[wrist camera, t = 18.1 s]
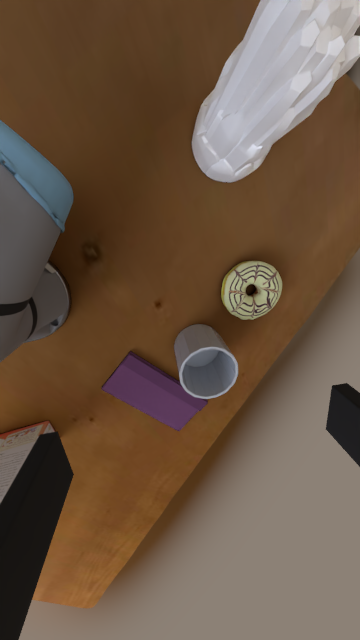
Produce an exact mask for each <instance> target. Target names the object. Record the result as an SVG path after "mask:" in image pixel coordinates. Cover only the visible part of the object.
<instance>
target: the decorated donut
mask: <svg viewBox="0 0 360 640" xmlns="http://www.w3.org/2000/svg"><path fill="white" fill-rule="evenodd" d="M250 284H254V285H255V286H256V290H255V292H254V294H252V295H249V296H248V295H247V294H246V287H247V286H248V285H250ZM281 291H282V280H281V277H280V275H279V273H278V271H277V270H276V269H275V268H274V267H273V266H271V265H269V264H267V263H264V262H261V261H245V262H242V263H240V264H238V265H236V266H235V267H234V268H233V269H231V270H230V271H229V272H228V273H227V275H226V276H225V278H224V280H223V284H222V289H221V292H222V293H221V294H222V295H221V297H222V301H223V304H224V305H225V306H226V308H227V310H228V311H229V312H230V313H231V314H233V315H235V316H236V317H238V318H240V319H242V320H247V319H251V320H253V319H255V318H257V317H260V316H262V315H264V314H266V313H267V312H269V311H270V310H271V309H272V308H273V307H274V306H275V304H276V303H277V301H278V299H279V297H280V295H281Z"/></svg>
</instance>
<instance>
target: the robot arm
mask: <svg viewBox="0 0 360 640" xmlns="http://www.w3.org/2000/svg"><path fill="white" fill-rule="evenodd" d="M73 198H74V197H73V191H72V187H71V185H70V184H69V182H68V181H67V179H66V178H65V177H64V175H63V174H62V173H61V172H60V171H59V170H58V169H57V168H56V167H55V166H53V165H52V164H51V163H50V162H49V161H48V160H47V159H46V158H45V157H44V156H42V155H41V154H40V153H39V152H38V151H37V150H36V149H34V148H33V147H32V146H31V145H30V144H29V143H27V142H26V141H25V140H24V139H23V138H22V137H20V136H19V135H18V134H17V133H16V132H14V131H13V130H12V129H11V128H10V127H8V126H7V125H6V124H5V123H3V122H2V121H1V120H0V362H1V361H2V360H4V359H5V358H6V357H7V356H8V355H10V354H11V353H12V352H13V351H14V350H15V349H17V348H18V347H19V346H20V345H21V344H23V343H25V342H30V341H34V340H38V339H41V338H44V337H46V336H48V335H50V334H52V333H53V332H55V331H56V330H57V329H58V328H59V327H60V326H61V325H62V324H63V323H64V322H65V320H66V319H67V317H68V315H69V312H70V308H71V293H70V289H69V286H68V284H67V281H66V279H65V278H64V276H63V275H62V273H61V272H60V271H59V269H58V268H57V267H56V266H55V265H54V264H52V263H51V262H50V261H49V260H48V259H49V257H50V255H51V253H52V250H53V248H54V246H55V244H56V241H57V239H58V237H59V235H60V233H61V232H62V233H63V232H64V230H65V226H64V224H65V221H66V219H67V216H68V214H69V211H70V209H71V206H72V203H73ZM326 426H327V427H326V430H327V431H328V432H329V433H330V434H331V435H332V436H333V438H334V439H335V440H336V441H337V442H338V443H339V444H340V445H341V446H342V448H343V449H344V450H345V451H346V452H347V453H348V454H349V455H350V456H351V458H352V459H353V460H354V461H355V462H356V463H357V464H358V465H359V466H360V393H359V392H358V391H356V390H355V389H354V388H352V387H351V386H350V385H349V384H347V383H346V384H340V385H333V386H332V390H331V397H330V405H329V412H328V418H327V425H326ZM73 475H74V474H73V472H72V469H71V466H70V464H69V461H68V458H67V456H66V453H65V450H64V448H63V445H62V443H61V440H60V437H59V435H58V432H51V433H45V434H40V435H39V437H38V439H37V440H36V442H35V444H34V446H33V447H32V449H31V451H30V453H29V454H28V456H27V458H26V460H25V461H24V463H23V465H22V467H21V468H20V470H19V472H18V474H17V475H16V477H15V479H14V481H13V482H12V484H11V486H10V488H9V489H8V491H7V493H6V495H5V496H4V498H3V500H2V502H1V503H0V640H18V639H19V636H20V633H21V630H22V627H23V624H24V621H25V618H26V615H27V612H28V609H29V606H30V603H31V600H32V597H33V594H34V591H35V588H36V585H37V582H38V579H39V576H40V573H41V570H42V567H43V564H44V561H45V558H46V555H47V552H48V549H49V546H50V543H51V540H52V538H53V535H54V532H55V529H56V526H57V523H58V520H59V517H60V514H61V511H62V508H63V505H64V502H65V499H66V496H67V493H68V490H69V487H70V484H71V481H72V478H73Z"/></svg>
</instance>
